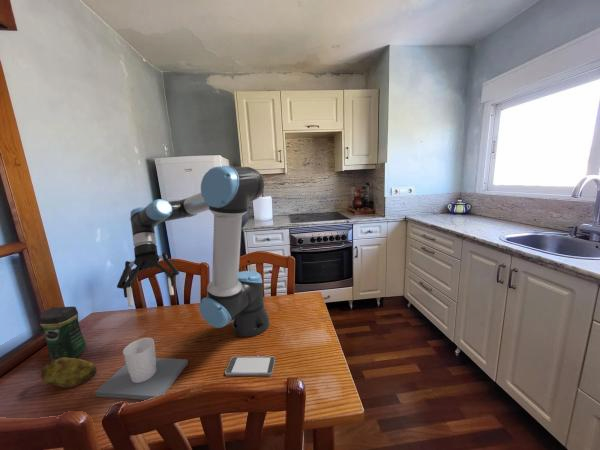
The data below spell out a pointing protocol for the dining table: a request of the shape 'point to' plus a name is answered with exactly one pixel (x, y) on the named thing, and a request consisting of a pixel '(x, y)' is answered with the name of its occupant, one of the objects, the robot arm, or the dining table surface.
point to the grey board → (150, 388)
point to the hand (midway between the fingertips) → (151, 300)
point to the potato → (68, 372)
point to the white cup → (140, 359)
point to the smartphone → (250, 366)
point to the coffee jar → (62, 332)
